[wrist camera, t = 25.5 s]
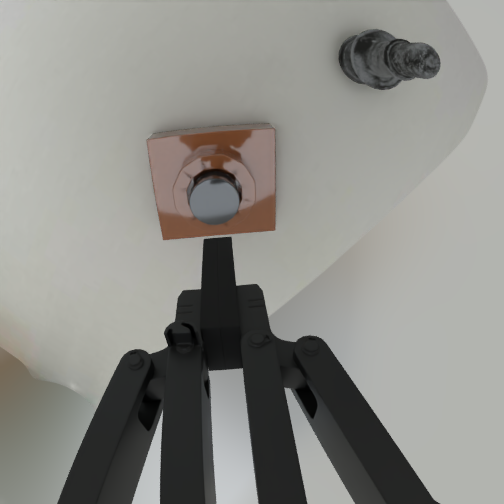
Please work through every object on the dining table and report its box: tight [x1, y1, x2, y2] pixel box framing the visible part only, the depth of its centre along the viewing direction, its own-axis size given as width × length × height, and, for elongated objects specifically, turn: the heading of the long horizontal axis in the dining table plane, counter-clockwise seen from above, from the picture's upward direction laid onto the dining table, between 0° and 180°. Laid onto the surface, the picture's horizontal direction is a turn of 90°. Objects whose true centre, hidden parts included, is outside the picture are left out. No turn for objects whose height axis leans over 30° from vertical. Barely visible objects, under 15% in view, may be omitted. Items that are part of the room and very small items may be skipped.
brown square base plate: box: [147, 123, 276, 240], centre depth 27 cm, size 11×10×5 cm
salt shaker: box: [339, 29, 440, 90], centre depth 19 cm, size 6×6×12 cm
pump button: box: [189, 171, 240, 225], centre depth 25 cm, size 4×4×2 cm
